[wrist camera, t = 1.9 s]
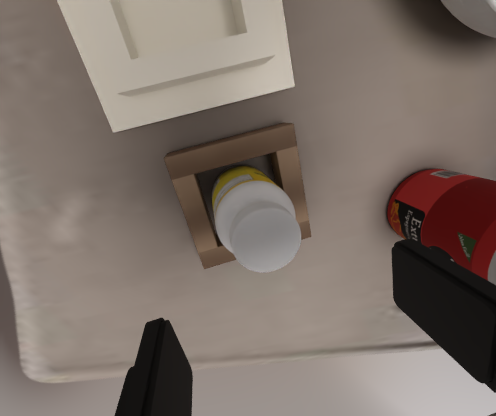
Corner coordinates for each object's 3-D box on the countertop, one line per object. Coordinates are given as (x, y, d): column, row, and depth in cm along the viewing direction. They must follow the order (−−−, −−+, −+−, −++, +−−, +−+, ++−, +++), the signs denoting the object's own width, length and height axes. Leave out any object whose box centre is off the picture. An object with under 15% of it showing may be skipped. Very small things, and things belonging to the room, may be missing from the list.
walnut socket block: (167, 153, 21) (163, 158, 18) (283, 122, 21) (293, 123, 19) (203, 254, 24) (204, 269, 22) (301, 225, 25) (311, 236, 23)
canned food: (371, 204, 26) (482, 262, 16) (435, 149, 25) (597, 174, 15) (404, 249, 29) (516, 323, 18) (462, 201, 28) (614, 252, 18)
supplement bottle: (279, 202, 24) (327, 255, 15) (229, 230, 24) (247, 300, 15) (253, 151, 22) (290, 177, 13) (199, 182, 22) (197, 230, 13)
